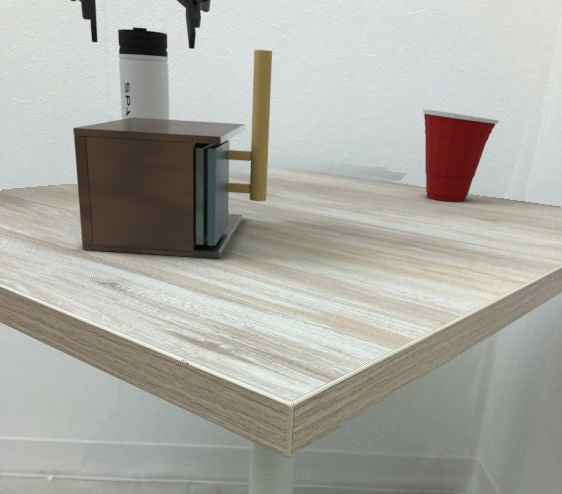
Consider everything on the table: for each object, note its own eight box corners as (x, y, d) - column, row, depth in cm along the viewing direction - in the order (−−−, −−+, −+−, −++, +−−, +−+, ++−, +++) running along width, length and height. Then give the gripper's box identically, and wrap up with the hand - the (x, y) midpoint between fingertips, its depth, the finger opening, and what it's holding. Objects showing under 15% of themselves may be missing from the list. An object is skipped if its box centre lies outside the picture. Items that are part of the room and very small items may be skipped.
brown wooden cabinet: (242, 219, 73) (245, 124, 69) (219, 258, 57) (220, 136, 53) (136, 212, 74) (132, 117, 70) (82, 249, 57) (72, 127, 53)
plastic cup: (493, 206, 91) (510, 115, 86) (417, 202, 91) (430, 111, 86) (474, 194, 101) (488, 112, 96) (405, 190, 101) (416, 108, 96)
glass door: (265, 229, 65) (273, 51, 58) (257, 248, 57) (265, 46, 50) (221, 226, 65) (223, 48, 58) (207, 245, 57) (207, 43, 50)
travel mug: (166, 184, 94) (162, 29, 86) (174, 191, 89) (171, 27, 80) (122, 184, 92) (114, 26, 84) (127, 191, 87) (119, 23, 78)
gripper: (214, -38, 104) (228, 64, 97) (52, -54, 98) (54, 53, 91) (220, -85, 97) (234, 21, 90) (45, -105, 92) (47, 7, 85)
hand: (144, 37), depth 91 cm, fingers open, 13 cm apart
